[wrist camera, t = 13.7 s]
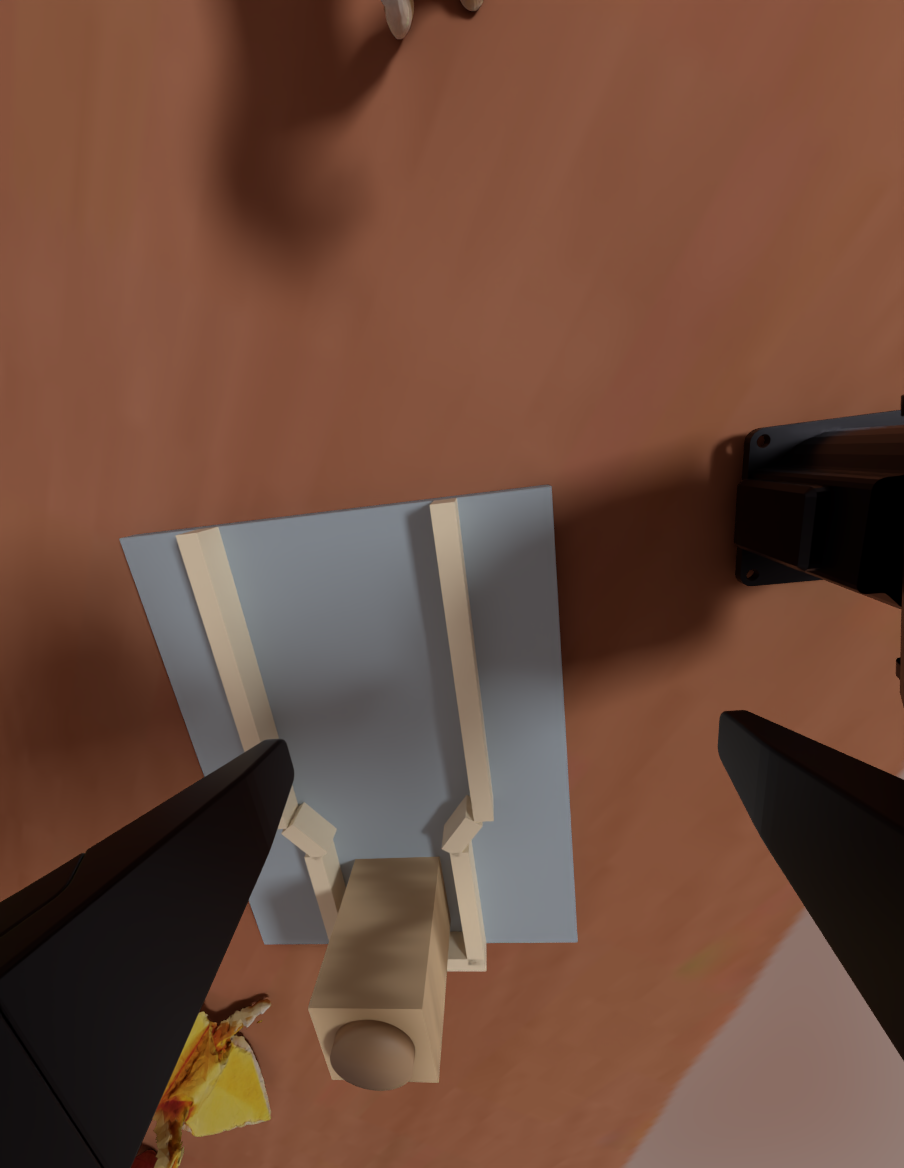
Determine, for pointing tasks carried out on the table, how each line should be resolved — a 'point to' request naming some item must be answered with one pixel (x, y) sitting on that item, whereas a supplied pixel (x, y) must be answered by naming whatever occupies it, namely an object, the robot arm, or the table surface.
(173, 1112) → the origami crane
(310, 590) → the keyhole board
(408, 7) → the unicorn figurine
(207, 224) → the table surface
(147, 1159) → the onion
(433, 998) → the stud block
